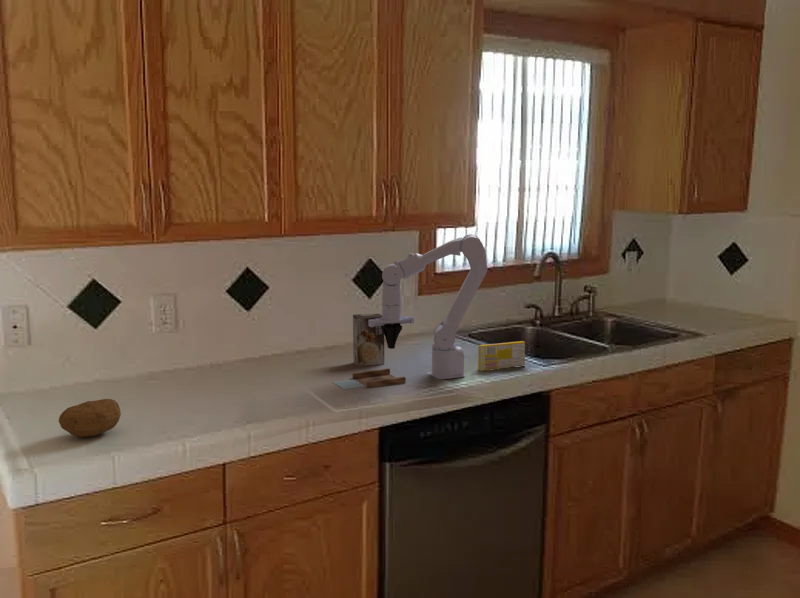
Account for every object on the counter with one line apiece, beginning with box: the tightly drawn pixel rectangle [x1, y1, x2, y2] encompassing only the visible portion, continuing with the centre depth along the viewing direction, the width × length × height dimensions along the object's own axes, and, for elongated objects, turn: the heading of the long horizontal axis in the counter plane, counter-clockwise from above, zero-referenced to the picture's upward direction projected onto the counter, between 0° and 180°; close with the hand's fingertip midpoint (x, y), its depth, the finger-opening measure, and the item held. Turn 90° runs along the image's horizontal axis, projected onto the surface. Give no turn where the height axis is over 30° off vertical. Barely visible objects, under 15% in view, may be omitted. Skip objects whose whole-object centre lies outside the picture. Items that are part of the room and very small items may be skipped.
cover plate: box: [332, 378, 366, 390], centre depth 226 cm, size 7×8×1 cm
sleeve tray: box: [352, 367, 407, 389], centre depth 231 cm, size 12×11×2 cm
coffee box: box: [352, 313, 385, 367], centre depth 250 cm, size 9×6×16 cm
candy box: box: [477, 340, 526, 372], centre depth 248 cm, size 16×2×8 cm, turn 112°
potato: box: [58, 398, 122, 438], centre depth 183 cm, size 10×14×8 cm
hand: (391, 348), depth 238 cm, fingers closed
